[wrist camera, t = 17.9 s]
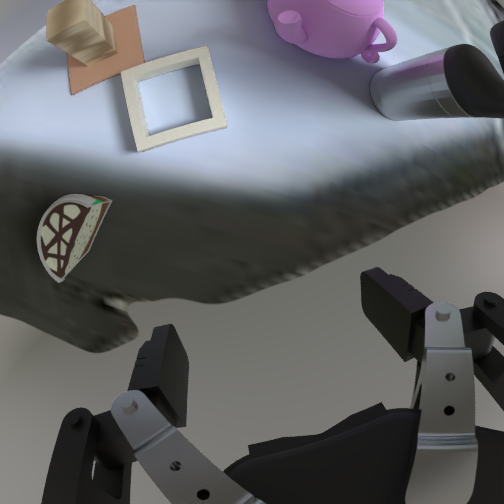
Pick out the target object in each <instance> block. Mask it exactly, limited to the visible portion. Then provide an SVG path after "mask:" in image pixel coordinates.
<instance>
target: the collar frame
mask: <svg viewBox="0 0 504 504" xmlns="http://www.w3.org/2000/svg"><path fill="white" fill-rule="evenodd" d="M198 64H200V68H201V72H202V76H203V81H204V85H205V89H206V93H207V97H208V101H209V105H210V109H211V114H212V118H210V119H206V120H202V121H198V122H194V123H191V124H187V125H184V126H180V127H177V128H173V129H170V130H167V131H164V132H161V133H157V134H154V135H151V136H150V134H149V130H148V126H147V121H146V117H145V113H144V108H143V104H142V99H141V94H140V89H139V84H138V82H140V81H143V80H146V79H149V78H152V77H155V76H158V75H161V74H165V73H168V72H171V71H175V70H178V69H182V68H186V67H190V66H193V65H198ZM121 77H122V83H123V88H124V93H125V98H126V103H127V108H128V112H129V117H130V122H131V126H132V130H133V135H134V139H135V143H136V147H137V151H138V152H144V151H147V150H150V149H153V148H156V147H160V146H163V145H166V144H169V143H172V142H176V141H179V140H183V139H186V138H190V137H193V136H197V135H200V134H204V133H208V132H212V131H216V130H220V129H224V128H227V122H226V118H225V114H224V110H223V106H222V102H221V97H220V93H219V89H218V85H217V81H216V77H215V73H214V69H213V65H212V61H211V57H210V53H209V49H208V46H204V47H199V48H195V49H191V50H187V51H183V52H179V53H176V54H172V55H169V56H165V57H162V58H159V59H156V60H152V61H149V62H146V63H143V64H141V65H138V66H135V67H132V68H130V69H127V70H124V71H122V72H121Z"/></svg>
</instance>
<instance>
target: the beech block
mask: <svg viewBox="0 0 504 504" xmlns="http://www.w3.org/2000/svg"><path fill="white" fill-rule="evenodd" d="M46 40H47V41H48V42H50V43H52V44H53V45H55V46H57V47H58V48H60V49H61V50H63V51H65V52H66V53H68V54H70V55H71V56H73V57H74V58H76V59H78V60H79V61H81V62H82V63H84V64H85V65H87V66H88V67H89V66H91V65H93V64H95V63H97V62H99V61H102V60H104V59H106V58H108V57H111V56H113V55H116V54H118V47H117V41H116V33H115V28H114V27H113V26H112V25H111V23H110V22H109V21H108V20H107V19H106V17H105V16H104V15H103V14H102V13H101V11H100V10H99V9H98V8H97V7H96V5H95V4H94V3H93V2H92V1H91V0H66V1H64V2H62V3H60V4H59V5H57V6H55V7H53V8H52V9H50V10H49V11H47V27H46Z"/></svg>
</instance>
